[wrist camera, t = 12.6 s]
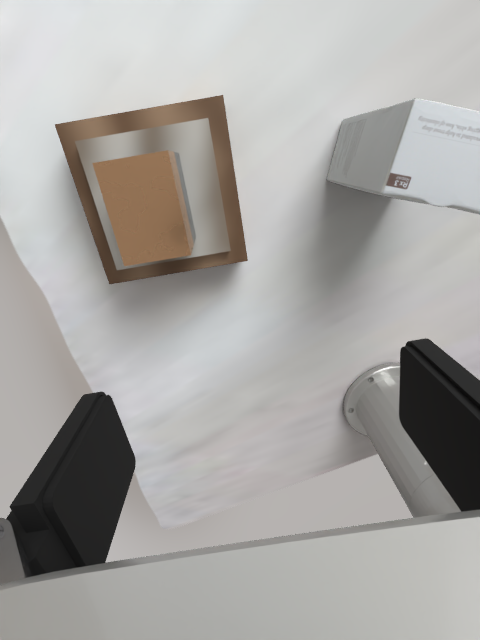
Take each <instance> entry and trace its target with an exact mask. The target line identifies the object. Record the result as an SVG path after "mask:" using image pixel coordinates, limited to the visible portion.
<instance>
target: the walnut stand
mask: <svg viewBox="0 0 480 640" xmlns="http://www.w3.org/2000/svg"><path fill="white" fill-rule="evenodd" d="M55 127H56V130H57V133H58V135H59V138H60V141H61V144H62V147H63V150H64V153H65V156H66V159H67V162H68V165H69V168H70V170H71V173H72V176H73V179H74V182H75V185H76V188H77V191H78V194H79V197H80V200H81V202H82V205H83V208H84V211H85V214H86V217H87V220H88V223H89V226H90V229H91V232H92V235H93V237H94V240H95V243H96V246H97V249H98V252H99V255H100V258H101V261H102V264H103V267H104V270H105V272H106V275H107V278H108V281H109V284H114V283H120V282H126V281H132V280H138V279H143V278H149V277H155V276H161V275H167V274H173V273H179V272H184V271H190V270H196V269H202V268H208V267H214V266H220V265H226V264H231V263H237V262H243V261H248V259H247V253H246V246H245V239H244V233H243V226H242V219H241V213H240V206H239V199H238V193H237V186H236V179H235V172H234V166H233V159H232V152H231V146H230V139H229V132H228V126H227V119H226V112H225V106H224V99H223V95H221V96H215V97H210V98H204V99H198V100H192V101H187V102H181V103H175V104H170V105H164V106H158V107H152V108H147V109H141V110H135V111H130V112H124V113H118V114H112V115H107V116H101V117H95V118H90V119H84V120H78V121H72V122H67V123H61V124H55ZM166 150H169V151H173V152H177V153H179V156H180V161H181V166H182V170H183V175H184V180H185V185H186V190H187V195H188V199H189V204H190V209H191V214H192V219H193V224H194V228H195V233H196V239H195V242H194V246H193V250H192V253H191V255H190V256H184V257H178V258H172V259H166V260H160V261H154V262H148V263H142V264H136V265H130V266H124V264H123V261H122V257H121V254H120V251H119V248H118V245H117V241H116V238H115V235H114V232H113V228H112V225H111V222H110V219H109V216H108V212H107V209H106V206H105V203H104V200H103V196H102V193H101V190H100V187H99V183H98V180H97V177H96V174H95V171H94V167H93V164H92V163H96V162H101V161H107V160H113V159H119V158H125V157H131V156H137V155H143V154H149V153H155V152H161V151H166Z"/></svg>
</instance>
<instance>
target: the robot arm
mask: <svg viewBox="0 0 480 640" xmlns="http://www.w3.org/2000/svg"><path fill="white" fill-rule="evenodd" d="M343 409H344V414H345V417H346V419H347V421H348V423H349V424H350V425H351V427H352V428H353V429H354V430H356V431H357V432H359V433H361V434H363V435H366V436H369V438H370V440H371V442H372V443H373V445H374V447H375V449H376V451H377V452H378V454H379V456H380V458H381V460H382V461H383V463H384V465H385V467H386V469H387V470H388V472H389V474H390V476H391V478H392V479H393V481H394V483H395V485H396V487H397V489H398V490H399V492H400V494H401V496H402V498H403V499H404V501H405V503H406V504H407V507H408V508H409V510H410V512H411V514H412V516H413V517H414V518H409V519H402V520H395V521H387V522H380V523H373V524H366V525H359V526H351V527H344V528H337V529H330V530H323V531H317V532H309V533H302V534H295V535H288V536H282V537H274V538H268V539H261V540H254V541H248V542H240V543H233V544H226V545H220V546H213V547H206V548H200V549H193V550H186V551H180V552H173V553H167V554H160V555H153V556H146V557H140V558H134V559H127V560H120V561H114V562H108V563H105V561H106V558H107V555H108V552H109V549H110V545H111V542H112V539H113V536H114V533H115V530H116V526H117V523H118V520H119V517H120V514H121V511H122V507H123V504H124V501H125V498H126V495H127V492H128V489H129V485H130V482H131V479H132V476H133V473H134V470H135V456H134V453H133V451H132V448H131V446H130V443H129V441H128V438H127V436H126V433H125V431H124V428H123V426H122V423H121V420H120V418H119V415H118V413H117V410H116V408H115V405H114V403H113V400H112V398H111V396H109V395H106V394H105V393H104V392H97V393H91V394H85V395H83V396H82V397H81V399H80V401H79V402H78V403H77V405H76V406H75V408H74V410H73V411H72V413H71V414H70V416H69V417H68V419H67V420H66V422H65V423H64V425H63V426H62V428H61V429H60V431H59V432H58V434H57V435H56V437H55V438H54V440H53V442H52V443H51V445H50V446H49V447H48V449H47V451H46V452H45V454H44V455H43V457H42V458H41V460H40V461H39V463H38V464H37V466H36V467H35V469H34V471H33V472H32V474H31V475H30V476H29V478H28V479H27V481H26V482H25V484H24V486H23V487H22V489H21V490H20V492H19V493H18V495H17V496H16V498H15V499H14V501H13V502H12V504H11V505H10V508H11V510H12V511H11V512H10V514H9V516H8V517H7V519H4V518H0V640H480V380H478V379H477V378H476V377H475V376H473V375H472V374H471V373H470V372H469V371H467V370H466V369H465V368H464V367H462V366H461V365H460V364H459V363H457V362H456V361H455V360H454V359H453V358H451V357H450V356H449V355H448V354H446V353H445V352H444V351H443V350H442V349H440V348H439V347H438V346H437V345H435V344H434V343H433V342H432V341H431V340H429V339H420V340H414V341H408V342H407V343H406V346H405V347H402V348H401V352H400V363H390V364H384V365H381V366H378V367H375V368H373V369H371V370H369V371H367V372H366V373H364V374H363V375H361V376H360V377H359V378H358V379H357V380H356V381H355V382H354V383H353V384H352V385H351V387H350V388H349V389H348V391H347V394H346V396H345V399H344V407H343Z"/></svg>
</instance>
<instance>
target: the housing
mask: <svg viewBox="0 0 480 640" xmlns="http://www.w3.org/2000/svg"><path fill="white" fill-rule="evenodd" d="M92 164H93V167H94V171H95V174H96V177H97V180H98V183H99V187H100V190H101V193H102V196H103V200H104V203H105V206H106V209H107V212H108V216H109V219H110V222H111V225H112V228H113V232H114V235H115V238H116V241H117V245H118V248H119V251H120V254H121V257H122V261H123V264H124V266H130V265H136V264H142V263H148V262H154V261H160V260H166V259H172V258H178V257H184V256H190V255H191V253H192V250H193V246H194V242H195V239H196V233H195V228H194V224H193V219H192V214H191V209H190V204H189V199H188V195H187V190H186V185H185V180H184V175H183V170H182V166H181V161H180V156H179V153H177V152H173V151H169V150H166V151H161V152H155V153H149V154H143V155H137V156H131V157H125V158H119V159H113V160H107V161H101V162H96V163H92Z"/></svg>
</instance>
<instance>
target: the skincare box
mask: <svg viewBox="0 0 480 640" xmlns="http://www.w3.org/2000/svg"><path fill="white" fill-rule="evenodd" d="M327 181H330V182H333V183H336V184H339V185H343V186H346V187H350V188H354V189H358V190H361V191H365V192H369V193H373V194H378V195H382V196H386V197H390V198H396V199H401V200H407V201H412V202H418V203H424V204H431V205H434V206H438V207H449V208H454V209H458V210H463V211H467V212H471V213H476V214H480V111H475V110H471V109H466V108H462V107H457V106H453V105H448V104H444V103H440V102H435V101H430V100H425V99H419V98H414V99H412V100H409V101H405V102H402V103H399V104H396V105H393V106H389V107H385V108H381V109H377V110H374V111H371V112H367V113H363V114H360V115H357V116H353V117H350V118H347V119H344V120H343V121H342V124H341V128H340V132H339V136H338V140H337V143H336V147H335V150H334V154H333V158H332V161H331V165H330V169H329V172H328V176H327Z"/></svg>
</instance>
